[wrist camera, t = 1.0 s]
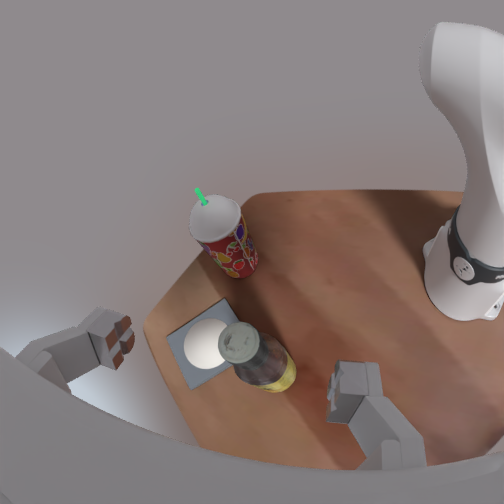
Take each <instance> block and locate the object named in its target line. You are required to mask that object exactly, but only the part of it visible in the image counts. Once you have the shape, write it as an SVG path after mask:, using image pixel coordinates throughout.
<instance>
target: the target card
mask: <svg viewBox="0 0 504 504" xmlns="http://www.w3.org/2000/svg"><path fill="white" fill-rule="evenodd" d="M236 322H240V321H239V320H238V318H237V316H236V315H235V313H234V312H233V310H232V308H231V307H230V305H229V304H228V302H227V300H226V299H223V300H222V301H220V302H219V303H217V304H216V305H214V306H213V307H211V308H210V309H208V310H207V311H205V312H204V313H202V314H201V315H199V316H198V317H196V318H195V319H193V320H192V321H190V322H189V323H187V324H186V325H184V326H183V327H181V328H180V329H178V330H177V331H175V332H174V333H172V334H171V335H169V336H168V337H166V338H167V340H168V343H169V345H170V347H171V350H172V352H173V354H174V356H175V358H176V361H177V363H178V365H179V367H180V369H181V371H182V374H183V376H184V378H185V380H186V382H187V384H188V386H189V388H190V390H193V389H194V388H196V387H198V386H200V385H201V384H203V383H205V382H206V381H208V380H210V379H211V378H213V377H214V376H216V375H218V374H219V373H221V372H223V371H224V370H226V369H227V368H229V367H231V366H232V364H230V363H228V362H227V361H226V360H225V359H223V358H222V356H221V355H220V352H219V349H218V340H219V336H220V334H221V332H222V331H223V329H225V328H226V327H227V326H228V325H230V324H232V323H236Z"/></svg>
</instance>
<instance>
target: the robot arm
mask: <svg viewBox="0 0 504 504" xmlns="http://www.w3.org/2000/svg"><path fill="white" fill-rule="evenodd" d="M419 71H420V76H421V80H422V83H423V86H424V88H425V90H426V93H427V94H428V96H429V98H430V100H431V101H432V103H433V104H434V105H435V106H436V107H437V108H438V109H439V110H440V112H441V113H442V114H443V115H444V116H445V117H446V119H447V120H448V121H449V123H450V124H451V125H452V127H453V129H454V130H455V132H456V134H457V136H458V138H459V140H460V142H461V145H462V147H463V150H464V153H465V157H466V162H467V180H466V185H465V190H464V194H463V198H462V201H461V204H460V205H459V206H458V207H457V209H456V211H455V213H454V214H453V216H452V219H451V220H448V221H447V222H446V224H445V226H441V228H440V229H439V231H438V233H437V236H436V237H435V238H433V239H431V240H430V241H428V242H427V243H425V245H424V247H423V255H424V258H425V261H426V266H425V273H424V281H425V287H426V290H427V293H428V295H429V297H430V299H431V301H432V302H433V304H434V305H435V306H436V307H437V308H438V309H439V310H440V311H441V312H442V313H444V314H445V315H447V316H448V317H450V318H453V319H456V320H461V321H468V320H473V319H478V318H482V319H486V320H494V319H495V318H496V317H497V316H498V314H499V311H500V309H501V307H502V304H503V302H504V34H502V33H499V32H496V31H494V30H491V29H488V28H486V27H483V26H476V25H470V24H463V23H450V22H440V23H438V24H436V25H435V26H434V27H433V28H432V29H430V30H429V32H428V33H427V34H426V36H425V37H424V39H423V41H422V44H421V47H420V51H419ZM494 306H495V307H496V308H494ZM131 324H132V323H131V320H130V317H128V316H127V315H124V314H121V313H118V312H114V311H112V310H108V309H106V308H103V307H97V308H96V309H95V310H94V311H93V312H92V313H91V314H90V315H89V316H88V317H86V318H85V319H84V320H83V322H82V323H81V324H79V325H78V327H71V328H69V329H66V330H63V331H60V332H57V333H54V334H51V335H48V336H45V337H43V338H40V339H37V340H34V341H31V342H30V343H29V344H28V345H27V346H26V347H25V348H24V349H23V350H22V351H21V352H20V353H19V354H18V355H17V356H16V357H15V358H14V357H13V356H12V355H10V354H9V353H8V352H6V351H5V350H4V349H2V348H1V347H0V504H504V452H496V453H492V454H489V455H485V456H481V457H477V458H472V459H468V460H463V461H458V462H453V463H447V464H441V465H434V466H427V465H426V456H425V449H424V442H423V437H422V436H421V435H420V434H419V433H418V432H417V430H416V429H415V428H414V427H413V426H412V425H411V424H410V422H409V421H408V420H407V419H406V418H405V417H404V416H403V415H402V413H401V412H400V411H399V410H398V409H397V408H396V407H395V405H394V404H393V403H392V402H391V401H390V400H389V399H388V398H387V397H383V391H382V384H381V377H380V370H379V365H378V363H373V362H360V361H350V360H340V359H338V360H337V362H336V365H335V373H333V374H332V375H331V378H330V380H329V385H328V391H327V398H328V400H329V403H328V405H327V408H326V422H334V423H344V424H348V426H349V428H350V430H351V432H352V433H353V435H354V437H355V438H356V440H357V442H358V443H359V445H360V447H361V448H362V450H363V452H364V453H365V455H366V457H367V459H366V460H365V461H364V462H363V463H362V464H361V465H360V466H359V467H358V468H357V469H356V470H329V469H315V468H304V467H295V466H287V465H280V464H273V463H267V462H261V461H255V460H250V459H245V458H240V457H236V456H231V455H227V454H223V453H219V452H215V451H211V450H208V449H204V448H200V447H197V446H193V445H190V444H187V443H183V442H181V441H177V440H174V439H171V438H169V437H165V436H163V435H160V434H157V433H154V432H152V431H149V430H147V429H144V428H142V427H139V426H137V425H134V424H132V423H129V422H127V421H125V420H122V419H120V418H118V417H116V416H113V415H111V414H109V413H107V412H105V411H103V410H101V409H98V408H97V407H95V406H93V405H91V404H88V403H87V402H85V401H83V400H81V399H79V398H77V397H76V396H74V395H72V394H71V390H70V389H69V387H68V385H67V383H68V382H70V381H72V380H74V379H76V378H78V377H79V376H81V375H83V374H85V373H87V372H89V371H90V370H92V369H94V368H96V367H98V366H99V365H103V366H106V367H109V368H111V369H114V370H117V369H118V367H119V366H120V364H121V363H122V362H123V360H124V356H123V355H125V354H128V353H129V352H130V351H131V349H132V348H133V345H134V340H135V338H134V337H135V336H134V332H133V331H132V329H131V328H130V325H131Z"/></svg>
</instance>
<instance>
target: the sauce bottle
mask: <svg viewBox="0 0 504 504" xmlns="http://www.w3.org/2000/svg"><path fill="white" fill-rule="evenodd" d="M218 349H219V352H220V355H221V356H222V358H223V359H225V360H226V361H227V362H228V363H230V364H232V365H233V366H234V370H235V373H236V374H237V376H238V377H239V378H240V379H241V380H242V381H244V382H246V383H248V384H250V385H253V386H255V387H258V388H260V389H263V390H265V391H268V392H281V391H284V390H285V389H287V388H289V387H290V386H291V385H292V383H293V382H294V380H295V377H296V372H297V370H296V366H295V363H294V361H293V360H292V359H291V357H290V356H289V354H288V353H287V351H286V350H285V348H284V347H283V346H282V345H281V344H280V343H279V341H278V340H277V339H275V338H274V337H273V336H271V335H268V334H266V333H261V332H260V333H259V331H258V330H257V329H256V328H255V327H253V326H252V325H251V324H249V323H246V322H236V323H232V324H230V325H228V326H227V327H226V328H225V329H223V331H222V332H221V334H220V336H219V340H218Z"/></svg>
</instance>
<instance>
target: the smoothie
mask: <svg viewBox="0 0 504 504" xmlns="http://www.w3.org/2000/svg"><path fill="white" fill-rule="evenodd" d="M195 192H196V194H197V195H198V197H199V199H200V200H199V201H197V202H196V204H195V205H194V206H193V208H192V210H191V213H190V223H189V230H190V234H191V235H192V236H193V237H194V238H195V239H196V240H197V241H198V243H199V244H200V245H201V246H202V247H203V248H204V249H205V251H206V252H207V253H208V254H209V255H210V256H211V257H212V258H213V260H214V261H215V262H216V263H217V264H218V265H219V266H220V267H221V268H222V270H223V271H224V272H225V273H226V274H227V275H228V276H231V277H233V278H245V277H247V276H249V275H251V274H252V273H253V272H254V270H255V269H256V266H257V263H258V254H257V251H256V249H255V246H254V244H253V241H252V238H251V236H250V233H249V231H248V228H247V225H246V223H245V220H244V217H243V215H242V212H241V209H240V207H239V205H238V203H237V202H235V201H234V200H232V199H229V198H227V197H225V196H221V195H218V194H216V195H215V194H214V195H208V196H205V197H204V196H203V195H202V193H201V191H200V190H199V188H196V189H195Z"/></svg>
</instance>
